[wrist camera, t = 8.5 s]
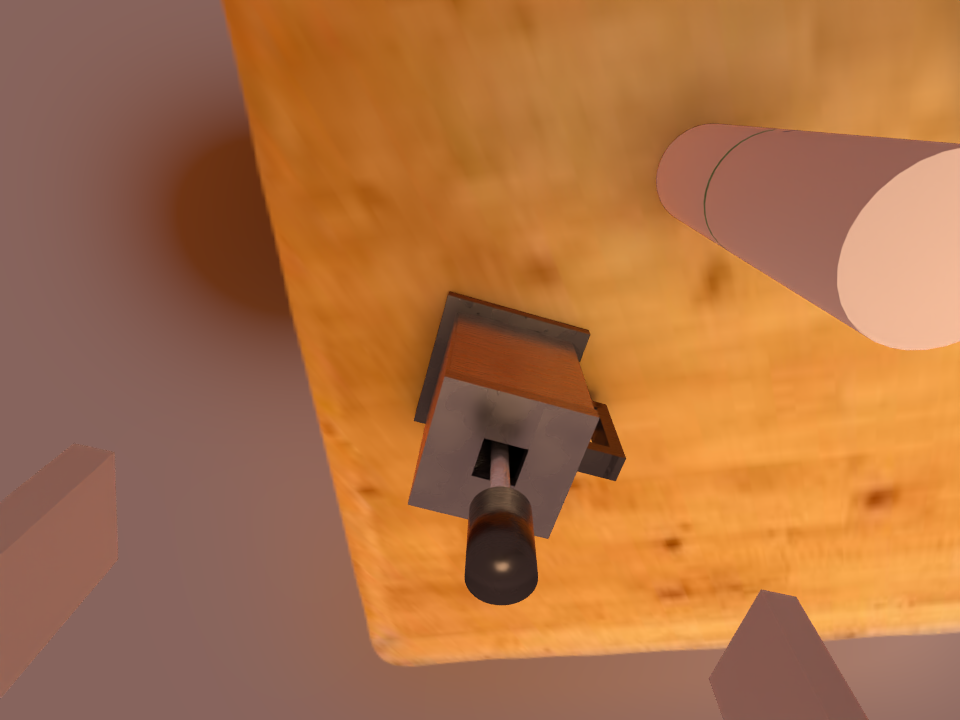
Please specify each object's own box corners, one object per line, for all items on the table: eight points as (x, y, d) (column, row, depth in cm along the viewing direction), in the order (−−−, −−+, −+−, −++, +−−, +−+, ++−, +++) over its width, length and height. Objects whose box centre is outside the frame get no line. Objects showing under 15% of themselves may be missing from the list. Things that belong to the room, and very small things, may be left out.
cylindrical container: (741, 227, 44) (1002, 356, 22) (648, 220, 44) (811, 343, 21) (765, 127, 42) (1097, 154, 19) (666, 120, 41) (876, 138, 19)
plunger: (558, 353, 47) (604, 536, 27) (528, 433, 50) (551, 649, 30) (466, 328, 46) (444, 496, 27) (442, 410, 50) (406, 616, 30)
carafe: (622, 339, 48) (666, 420, 36) (573, 456, 53) (597, 562, 41) (449, 291, 47) (432, 357, 35) (415, 415, 52) (390, 512, 39)
